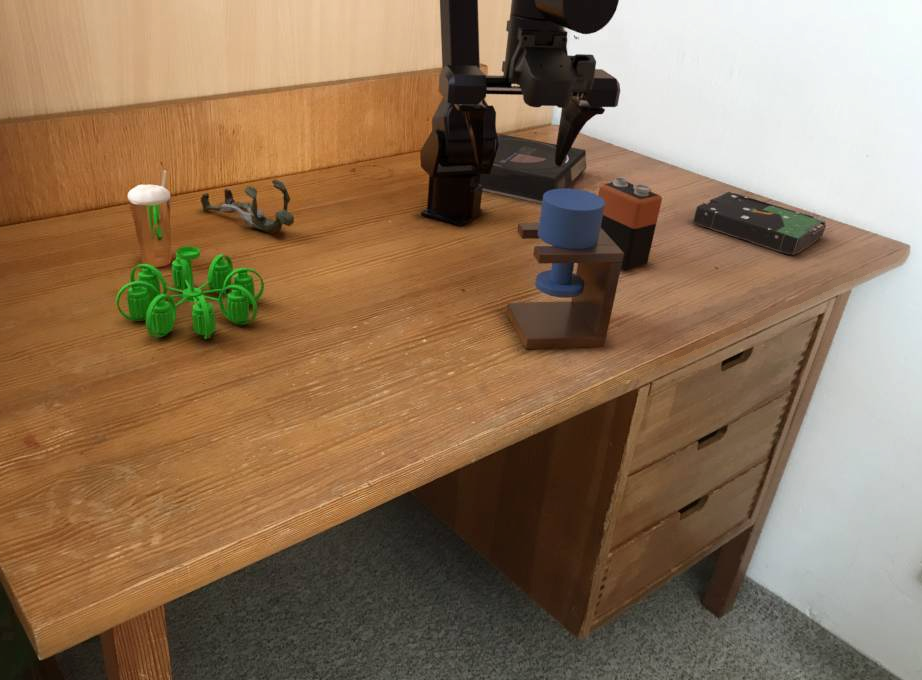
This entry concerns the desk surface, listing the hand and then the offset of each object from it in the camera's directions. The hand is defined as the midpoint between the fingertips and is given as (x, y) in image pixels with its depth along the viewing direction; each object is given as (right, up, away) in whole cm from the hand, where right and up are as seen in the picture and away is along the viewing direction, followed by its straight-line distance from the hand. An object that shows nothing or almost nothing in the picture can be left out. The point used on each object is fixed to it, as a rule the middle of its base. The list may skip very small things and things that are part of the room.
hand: (518, 165), depth 93 cm
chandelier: (-35, -17, -6) cm, 39 cm away
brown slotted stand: (+3, -19, -5) cm, 20 cm away
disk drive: (+36, -3, +23) cm, 43 cm away
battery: (+14, -9, +12) cm, 20 cm away
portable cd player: (+4, +7, +36) cm, 37 cm away
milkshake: (-42, -10, +4) cm, 43 cm away
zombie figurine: (-33, -4, +15) cm, 36 cm away
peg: (+3, -15, -8) cm, 17 cm away
